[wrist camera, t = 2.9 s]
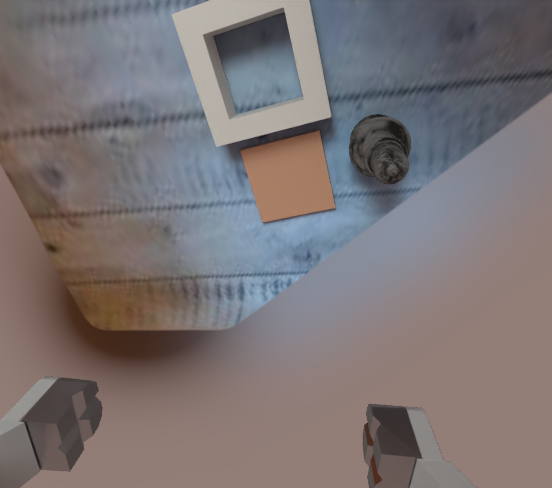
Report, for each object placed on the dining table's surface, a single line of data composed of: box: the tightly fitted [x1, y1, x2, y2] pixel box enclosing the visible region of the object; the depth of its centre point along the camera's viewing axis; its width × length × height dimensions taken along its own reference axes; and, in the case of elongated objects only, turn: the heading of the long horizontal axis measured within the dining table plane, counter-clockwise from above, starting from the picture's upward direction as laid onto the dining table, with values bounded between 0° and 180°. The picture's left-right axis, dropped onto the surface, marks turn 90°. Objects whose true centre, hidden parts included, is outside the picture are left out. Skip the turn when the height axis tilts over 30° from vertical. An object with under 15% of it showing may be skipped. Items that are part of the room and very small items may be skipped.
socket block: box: [171, 0, 331, 147], centre depth 34 cm, size 12×12×4 cm
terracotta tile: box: [240, 130, 335, 223], centre depth 41 cm, size 9×9×1 cm
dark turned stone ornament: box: [349, 114, 411, 184], centre depth 33 cm, size 6×6×12 cm
